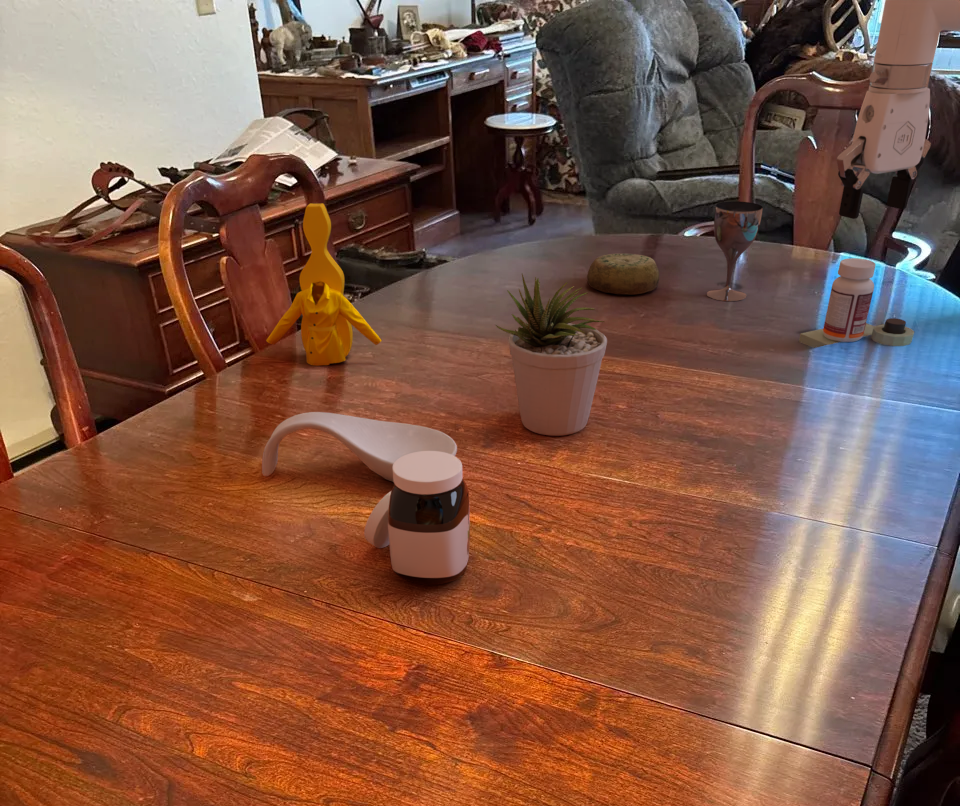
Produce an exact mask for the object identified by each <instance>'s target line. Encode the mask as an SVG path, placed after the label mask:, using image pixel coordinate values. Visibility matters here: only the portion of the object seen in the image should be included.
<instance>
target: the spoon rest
mask: <svg viewBox="0 0 960 806" xmlns="http://www.w3.org/2000/svg"><path fill="white" fill-rule="evenodd" d="M309 429H310V430H318V431H322V432H324V433H327V434H328V435H330V436H332V437H334V438H335V439H337V441H339V442H340V443H342V445H344V447H346V448H347V449H349V450H350V451H351V453H353V454H354V456H355V457H357V458H358V459H359V460H360V461H361V462H362V463H363V464H364V465H365V467H367V468H368V469H369V470H371V471H372V472H373V473H375V474H377V475H378V476H380V477H382V478H383V479H385V480H387V481H389V482H391V483H394V482H393V469H392V467H393V464H394V462H395V461H396V460H397V459H399V458H400V457H402V456H404V455H407V454H410V453H414V452H420V451H439V452H445V453H448V454H451V455H453V456H455V457H456V455H457V452H458V446H457V442H456V441H455V440H454V439H453V438H452V437H451V436H449V435H448V434H447V433H445V432H443V431H440V430H438V429H435V428H430V427H429V426H428V427H427V426H423V425H419V424H411V423H404V422H397V421H395V422H394V421H387V420H379V419H371V418H366V417H359V416H353V415H348V414H342V413H333V412H326V411H325V412H324V411H309V412H302V413H299V414H295V415H292V416H290V417H288V418H286V419H284V420H283V421H281V422H280V423H279V424H278V425H277V426H276V427H275V428H274V430H273V432H272V434H271V436H270V437H269V439H268V441H267V442H266V444H265V446H264V449H263V453H262V459H261V474H262V476H264V477H269V476H271V475H272V474H273V473H274V472H275V470H276V467H277V465H278V462H279V447H280V446H279V445H280V443H281V441H282V440H284V438H285V437H287V436H289V435H290V434H293V433H295V432H298V431H303V430H309Z"/></svg>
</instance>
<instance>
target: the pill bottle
mask: <svg viewBox="0 0 960 806" xmlns="http://www.w3.org/2000/svg"><path fill="white" fill-rule="evenodd" d="M875 269H876V262H875V261H873V260H870V259H865V258H858V257H853V258H852V257H850V258H844V259H841V260H840V262H839V265H838V270H837V274H838V277H836V278H835V279H834V280H833V281H832V284H831V289H830V294H829V299H828V303H827V309H826V313H825V319H824V324H823V328H822V329H823V335H824V336H825V337H826V338H828V339H830V340H834V341H839V343H853V342H854V343H855V342H857V341H860V340H861V339H862V338H864V337H863V334H864V330H865V326H866V323H867V321H868V317H869V311H870V308H871V303H872V298H873V294H874V291H875V282H874V281H873V280H872V278H873V277H874V275H875Z"/></svg>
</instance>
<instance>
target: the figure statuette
mask: <svg viewBox="0 0 960 806" xmlns="http://www.w3.org/2000/svg"><path fill="white" fill-rule="evenodd" d="M302 229H303V233H304V236H305V238H306V240H307V242H308V245H309V246H310V249H311V254H310V256H309V258H308V260H307V262H306V263H305V265H304V266H303V268H302V270H301V272H300V273H299V279H298V280H299V286H300V290H301V291H298V292H297V293H296V295H295V297H294V299H293V301H292V303H291V304H290V307H289V308H288V309H287V310H286V311H285V312H284V313H283V315H282V316H281V318H280V319H279V321H278V322H277V324H275V326H274V328H273V330H272V331H271V332H270V334H269V336H268V337H267V338H266V339H265V341H266V342H267V343H268V344H270V345H273V346H275V345H276V344H277V343H279V341H280V340H281V339H282V338H283V337H284V336H285V335H286V334H287V332H289V330H290V329H291V328H292V327H293V326H294V324H295V323H296V322H297V321H298V319H299V318H300V317H301V316H302V318H301V323H300V337H301V342H302V346H303V349H304V351H305V356H306V363H307V364H308V365H310V366H316V367H317V366H330V364H339V363H342V362H345V361H346V360H347V359H346V357H348V355H349V354H350V351H351V349H352V346H353V342H354V341H353V338H354V331H353V328H355V329H356V331H358V332H359V333H360V334H361V335H362V336H364V337H365V338H366V339H367V340H368V341H370V342H371V343H372V344H374V345H375V346H377V345H379V344H381V342H382V341H383V340H382V339H381V337H380V336H379V334H377V332H376V331H375V330H374V328H373V327H372V326H371V325H370V324H369V323H368V322H367V320H366V319H365V318H364V317H363V316H362V314H361V313H360V312H359V311H358V310H357V309H356V308H355V306H354V305H353V304H352V303H351V302H350V300H348V298H347V297H346V296H345V295H344V291H345V282H346V281H345V274H344V271H343V270H342V268H341V266H340V265H339V264H338V263H337V262H336V260H335V259H334V258H333V256H332V255H331V254H330V252H329V250H328V242H329V239H330V236H331V231H332V221H331V218H330V215H329V213H328V211H327V208H326V206H325V204H324V203H322V202H321V203H309V204H308V205H306V207H305V210H304V215H303V220H302Z"/></svg>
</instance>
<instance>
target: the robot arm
mask: <svg viewBox="0 0 960 806" xmlns="http://www.w3.org/2000/svg"><path fill="white" fill-rule="evenodd" d="M942 31H952V32H958V33H959V32H960V0H885V1H884V6H883V10H882V17H881V22H880V27H879V32H878V37H877V42H876V48H875V54H874V59H873V64H872V69H871V73H870V75H869V77H868V79H869V85H868V90H866V92H865V96H864V98H863V102H862V104H861V107H860V110H859V114H858V117H857V121H856V125H855V128H854V132H853V137H852V142H851V144H850V145H849V146H847V148H846V149H844V150H843V151H841V153H840V154H838V155H837V157H836V164H837V169H838V171H837V174H838V177H839V179H840V186H841V187H843V188H842V194H841V199H840V205H839V211H838V215H839V216H841V217H844V218H847V219H851V220H857V219H858V218H859V216H860V213H861V205H862V200H863V196H864V188H862V186H863V185H864V183H865V181H866V180H867V179H868V177H869V176H870V174H871V173H872V174H876V175H878V174H879V175H881V174H886V173H891V172H895V176H892V178H891V181H890V185H889V191H888V196H887V201H886V205H887V207H891V208H895V209H898V210H905V209H906V208H907V206H908V202H909V198H910V192H911V189H912V183H913V180H914V179H916V177H917V175H918V170H919V169H920V168H921V167H922V166H923V164H924V161H925V158H926V156H927V154H928V152H929V150H930V148H931V145H932V143H931V141H929V140H928V139H926V135H927V130H928V123H929V116H930V105H931V88H929V82H930V77H931V73H932V67H933V64H934V59H935V55H936V51H937V45H938V41H939V37H940V33H941V32H942ZM857 173H859V174H858V175H857Z"/></svg>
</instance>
